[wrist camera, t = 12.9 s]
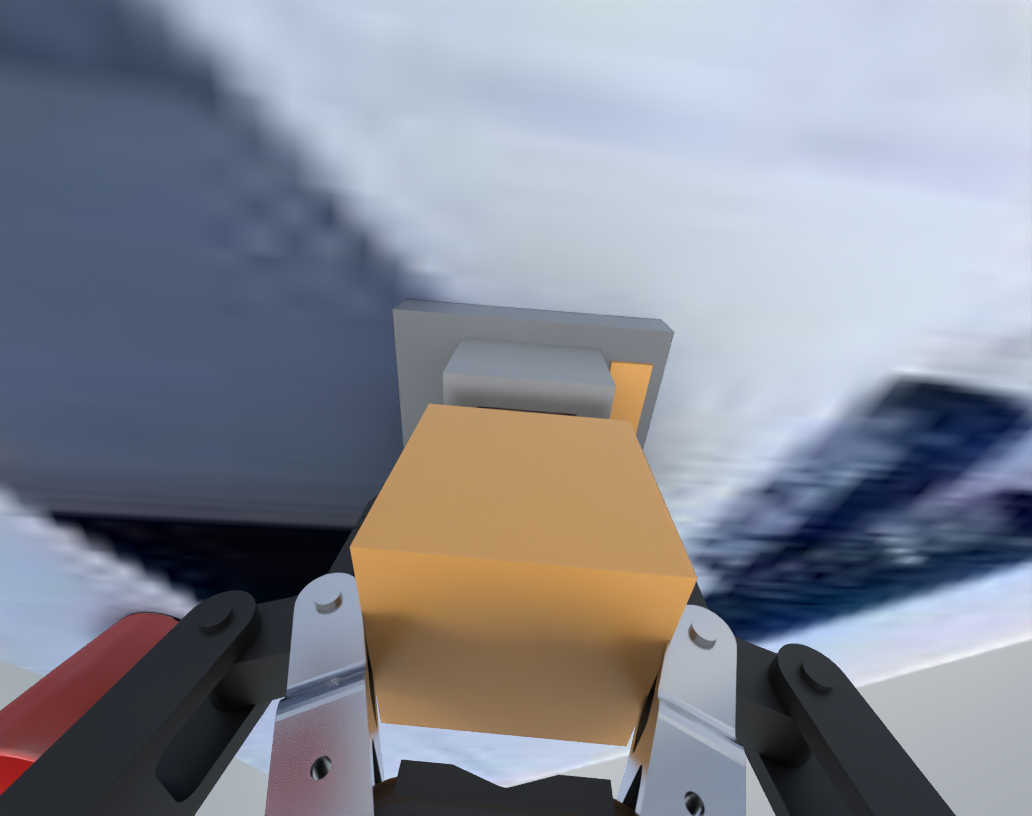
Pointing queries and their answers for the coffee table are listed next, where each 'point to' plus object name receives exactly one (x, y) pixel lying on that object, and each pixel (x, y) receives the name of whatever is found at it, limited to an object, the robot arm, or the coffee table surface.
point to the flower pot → (72, 691)
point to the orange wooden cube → (519, 576)
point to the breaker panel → (528, 361)
